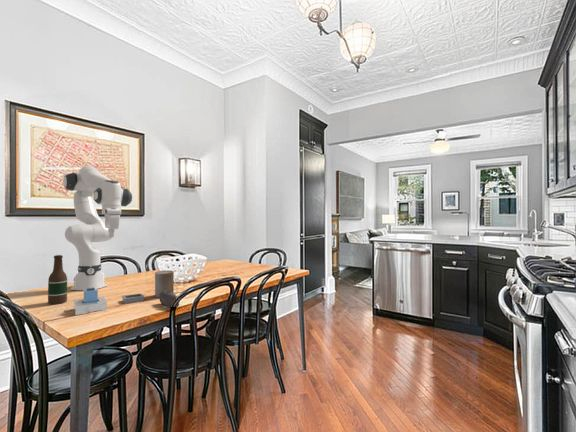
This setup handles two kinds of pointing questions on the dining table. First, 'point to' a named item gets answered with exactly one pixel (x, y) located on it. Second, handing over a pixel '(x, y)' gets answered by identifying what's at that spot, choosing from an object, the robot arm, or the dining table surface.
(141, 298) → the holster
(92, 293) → the plug
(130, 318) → the dining table surface
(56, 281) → the beer bottle
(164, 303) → the perforated stone tool
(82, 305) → the block
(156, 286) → the pillar candle
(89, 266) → the robot arm
